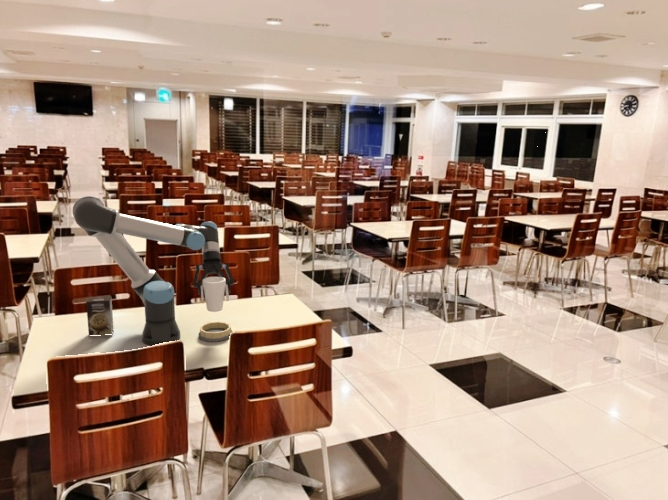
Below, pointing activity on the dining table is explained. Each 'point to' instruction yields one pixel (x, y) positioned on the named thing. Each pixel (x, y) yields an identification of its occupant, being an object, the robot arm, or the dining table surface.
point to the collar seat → (215, 331)
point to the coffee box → (100, 316)
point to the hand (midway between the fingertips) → (215, 300)
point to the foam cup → (214, 293)
